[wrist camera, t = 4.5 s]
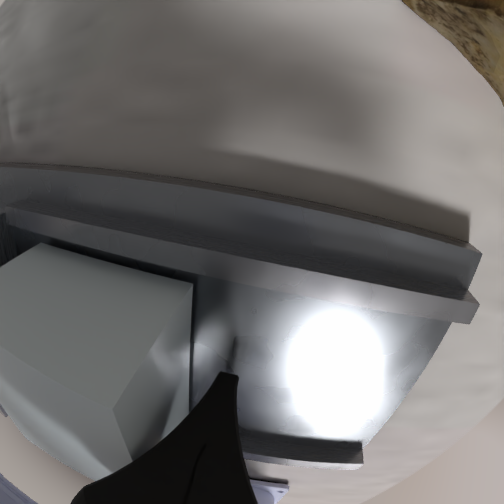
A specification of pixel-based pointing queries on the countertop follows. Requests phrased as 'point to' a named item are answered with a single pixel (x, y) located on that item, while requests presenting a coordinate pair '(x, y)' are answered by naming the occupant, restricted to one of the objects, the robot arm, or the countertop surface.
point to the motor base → (266, 294)
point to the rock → (470, 32)
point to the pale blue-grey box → (92, 357)
